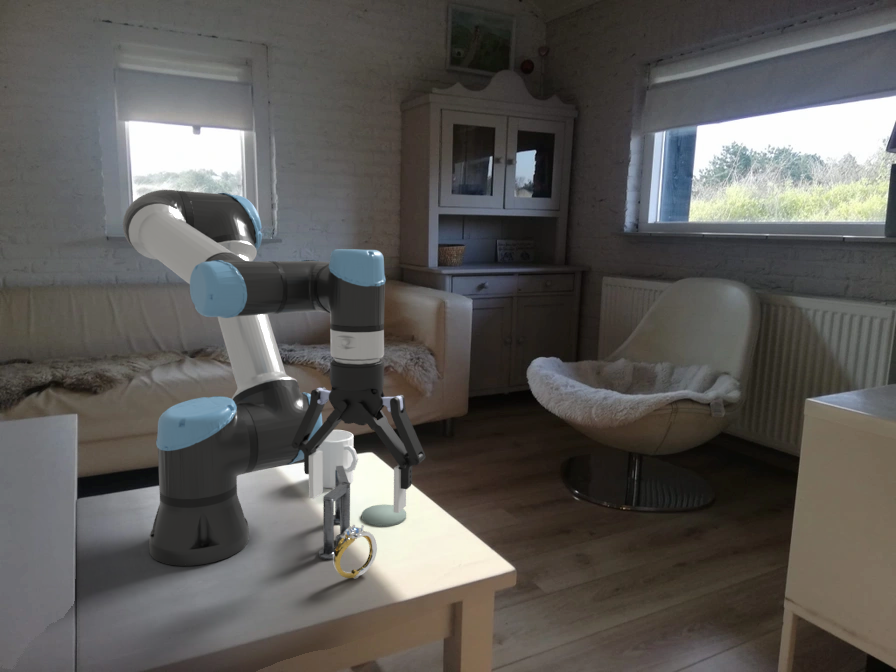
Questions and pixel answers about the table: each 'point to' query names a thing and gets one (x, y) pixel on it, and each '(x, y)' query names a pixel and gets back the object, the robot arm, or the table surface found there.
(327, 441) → the mug
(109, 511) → the table surface
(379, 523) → the felt coaster
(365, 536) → the ring
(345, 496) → the bent grey rail
